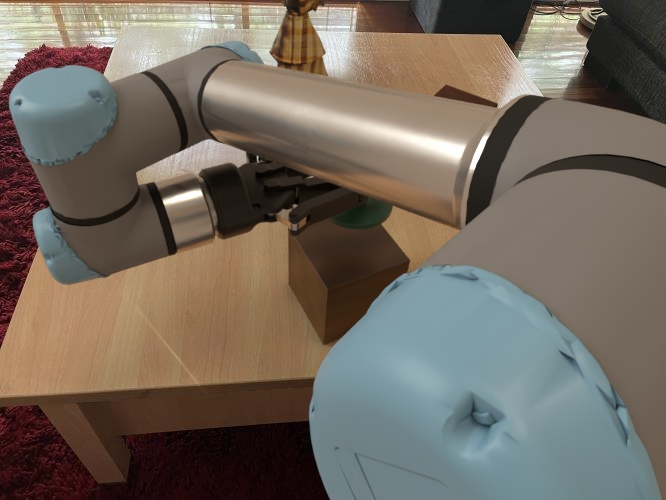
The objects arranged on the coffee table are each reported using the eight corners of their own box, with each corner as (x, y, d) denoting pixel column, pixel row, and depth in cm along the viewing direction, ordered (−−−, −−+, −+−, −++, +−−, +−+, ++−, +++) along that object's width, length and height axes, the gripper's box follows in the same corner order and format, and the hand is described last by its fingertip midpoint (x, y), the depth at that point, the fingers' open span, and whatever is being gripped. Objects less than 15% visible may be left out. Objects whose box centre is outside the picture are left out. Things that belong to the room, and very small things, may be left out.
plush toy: (248, 70, 121) (261, -38, 101) (294, 55, 128) (315, -48, 108) (286, 108, 116) (307, 3, 96) (331, 90, 124) (360, -11, 104)
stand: (397, 315, 77) (410, 260, 68) (323, 345, 72) (328, 290, 64) (357, 259, 84) (364, 203, 75) (288, 283, 79) (287, 227, 71)
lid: (406, 216, 63) (421, 149, 56) (339, 238, 60) (345, 170, 53) (368, 172, 69) (377, 106, 62) (305, 191, 66) (306, 123, 58)
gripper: (189, 188, 61) (363, 142, 69) (237, 284, 52) (432, 218, 60) (179, 134, 56) (369, 91, 64) (230, 229, 46) (446, 165, 55)
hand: (399, 152), depth 62 cm, fingers closed on lid, 3 cm apart
